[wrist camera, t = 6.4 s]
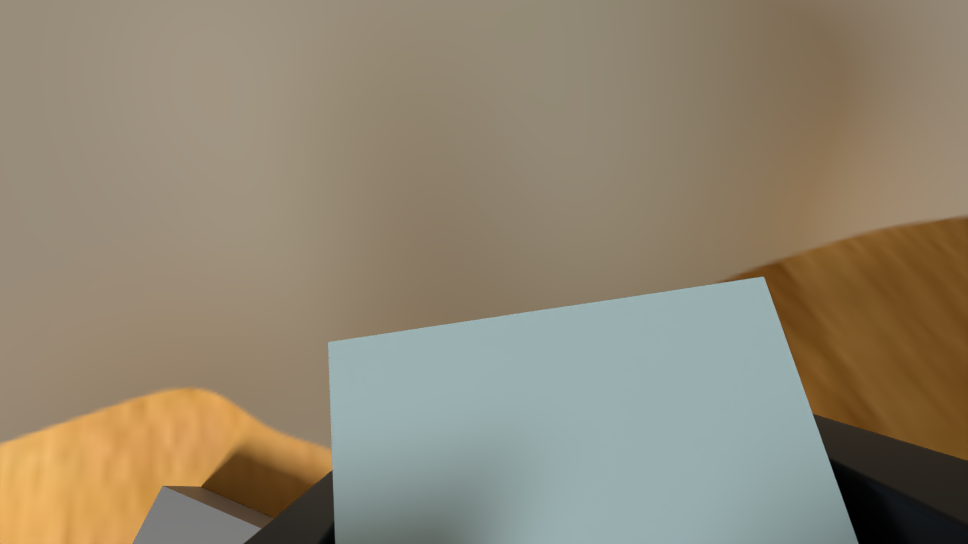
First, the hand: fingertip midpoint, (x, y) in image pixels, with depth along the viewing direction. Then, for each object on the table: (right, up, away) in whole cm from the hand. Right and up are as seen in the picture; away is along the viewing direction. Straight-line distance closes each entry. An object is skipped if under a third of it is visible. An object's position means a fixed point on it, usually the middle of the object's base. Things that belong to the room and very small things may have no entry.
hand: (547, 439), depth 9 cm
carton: (+1, -4, +6) cm, 7 cm away
